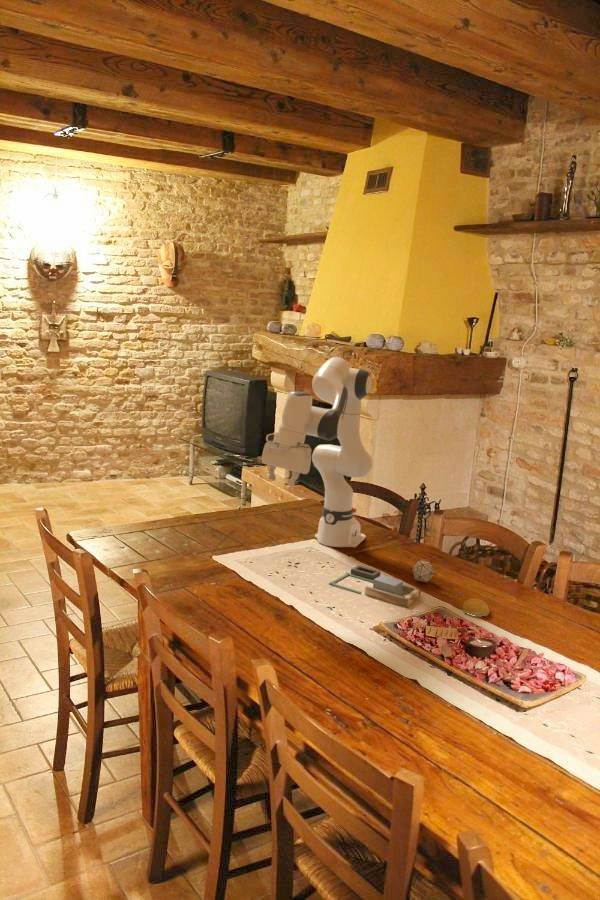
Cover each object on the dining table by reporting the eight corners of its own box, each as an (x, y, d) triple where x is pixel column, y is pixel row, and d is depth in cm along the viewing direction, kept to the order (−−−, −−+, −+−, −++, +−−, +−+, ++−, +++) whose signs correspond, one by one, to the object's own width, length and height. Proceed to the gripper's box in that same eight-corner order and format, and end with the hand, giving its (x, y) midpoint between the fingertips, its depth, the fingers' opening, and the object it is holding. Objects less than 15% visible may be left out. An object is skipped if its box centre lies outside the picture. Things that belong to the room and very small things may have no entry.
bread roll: (463, 616, 233) (464, 604, 232) (462, 605, 242) (463, 594, 241) (490, 620, 232) (491, 608, 231) (488, 608, 240) (489, 597, 239)
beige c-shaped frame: (380, 584, 254) (380, 577, 253) (420, 596, 246) (421, 589, 246) (364, 594, 244) (365, 587, 244) (405, 606, 237) (406, 599, 236)
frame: (347, 574, 262) (347, 573, 262) (377, 582, 255) (377, 581, 255) (328, 584, 251) (328, 583, 251) (359, 593, 245) (359, 592, 244)
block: (381, 588, 251) (382, 574, 250) (401, 595, 247) (403, 581, 246) (372, 593, 246) (373, 579, 245) (393, 600, 242) (394, 586, 241)
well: (357, 570, 266) (358, 565, 266) (380, 576, 261) (380, 571, 261) (350, 574, 262) (351, 569, 261) (373, 580, 257) (373, 575, 256)
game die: (425, 591, 261) (444, 570, 260) (420, 590, 253) (439, 569, 252) (407, 573, 265) (425, 553, 264) (401, 572, 257) (420, 551, 256)
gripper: (319, 447, 229) (309, 490, 229) (277, 438, 244) (268, 478, 244) (304, 443, 225) (294, 487, 225) (263, 434, 240) (253, 476, 240)
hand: (280, 482), depth 235 cm, fingers open, 8 cm apart
